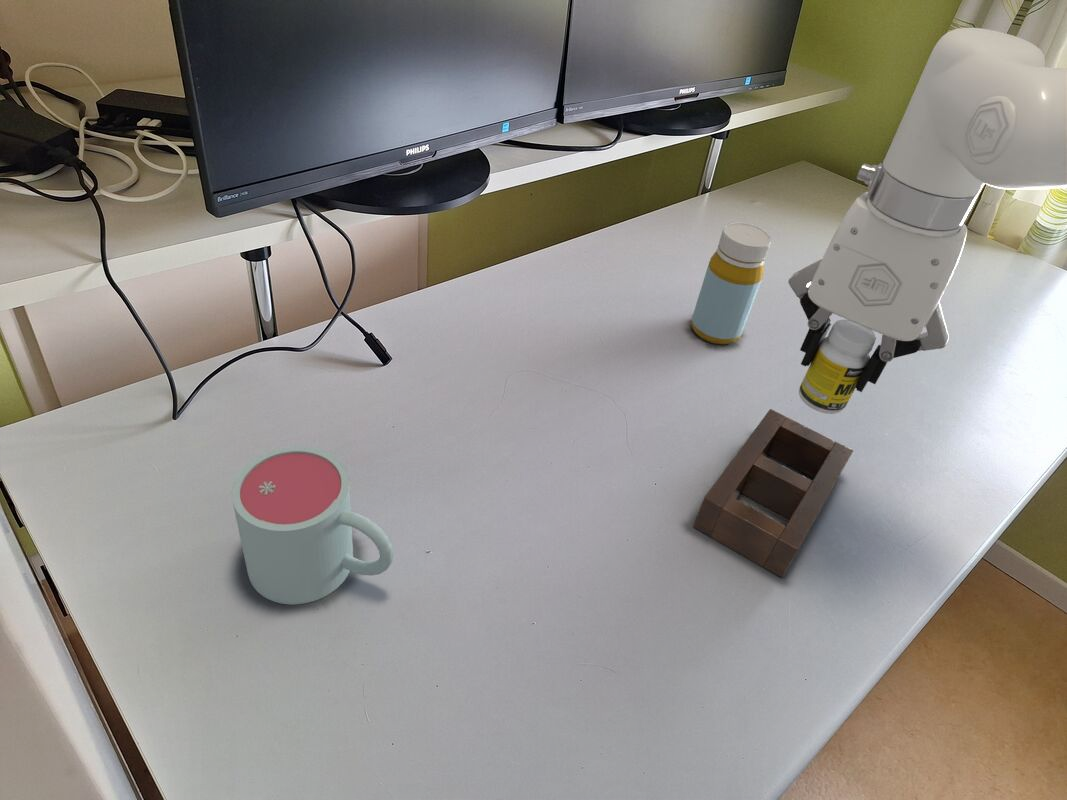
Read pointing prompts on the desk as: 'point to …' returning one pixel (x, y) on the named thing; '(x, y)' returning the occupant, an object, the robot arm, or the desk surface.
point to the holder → (772, 491)
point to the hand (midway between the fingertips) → (835, 370)
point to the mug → (300, 525)
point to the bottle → (731, 283)
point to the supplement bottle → (837, 367)
